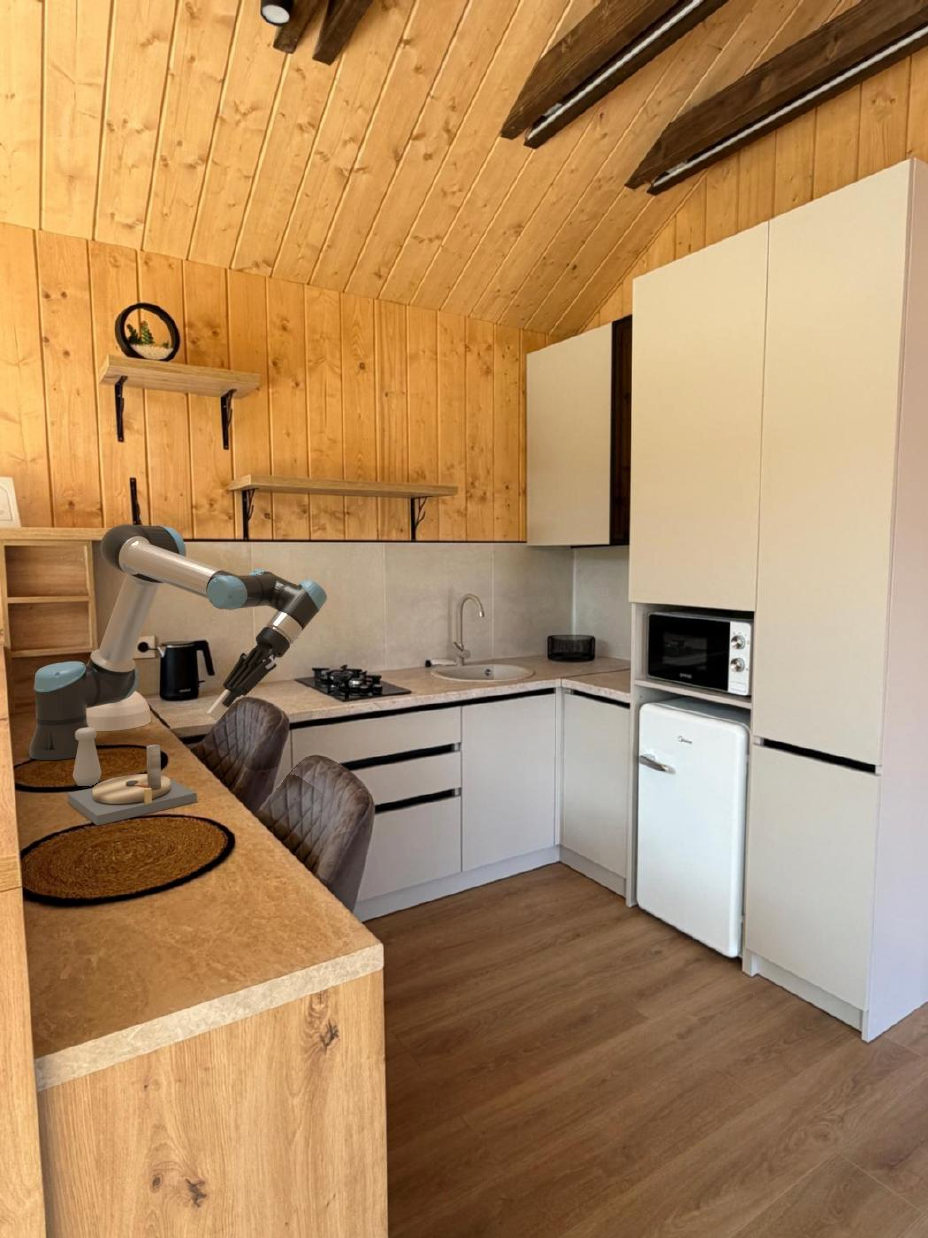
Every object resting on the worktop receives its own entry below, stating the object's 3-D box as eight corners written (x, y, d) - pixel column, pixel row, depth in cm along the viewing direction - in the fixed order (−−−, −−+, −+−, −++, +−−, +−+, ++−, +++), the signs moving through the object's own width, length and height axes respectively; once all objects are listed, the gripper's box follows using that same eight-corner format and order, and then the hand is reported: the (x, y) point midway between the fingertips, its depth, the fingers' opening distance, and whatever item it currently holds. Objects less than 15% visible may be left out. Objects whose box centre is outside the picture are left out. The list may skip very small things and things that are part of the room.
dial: (75, 798, 149) (74, 748, 149) (132, 777, 164) (130, 731, 163) (132, 807, 144) (131, 756, 143) (185, 785, 158) (184, 738, 157)
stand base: (67, 802, 153) (67, 779, 153) (162, 782, 168) (161, 761, 167) (97, 825, 141) (96, 800, 140) (196, 801, 155) (196, 779, 154)
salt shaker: (89, 789, 162) (87, 732, 161) (67, 787, 163) (65, 731, 162) (107, 781, 168) (105, 726, 167) (85, 779, 169) (83, 725, 168)
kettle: (149, 714, 238) (147, 659, 236) (153, 727, 219) (152, 669, 218) (79, 719, 229) (77, 663, 227) (78, 734, 210) (76, 673, 209)
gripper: (303, 648, 167) (238, 731, 156) (273, 643, 176) (210, 721, 166) (282, 627, 163) (214, 711, 152) (253, 623, 172) (187, 702, 161)
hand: (212, 716), depth 159 cm, fingers closed
